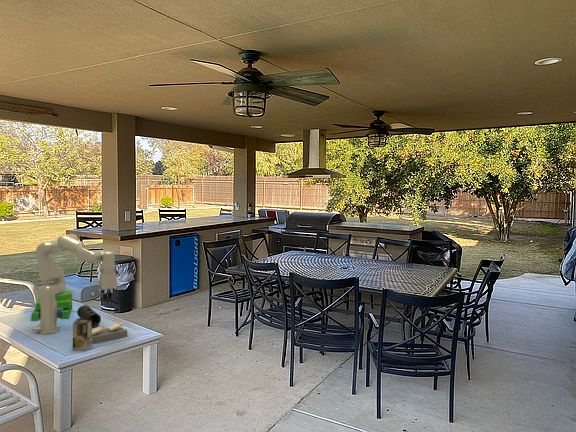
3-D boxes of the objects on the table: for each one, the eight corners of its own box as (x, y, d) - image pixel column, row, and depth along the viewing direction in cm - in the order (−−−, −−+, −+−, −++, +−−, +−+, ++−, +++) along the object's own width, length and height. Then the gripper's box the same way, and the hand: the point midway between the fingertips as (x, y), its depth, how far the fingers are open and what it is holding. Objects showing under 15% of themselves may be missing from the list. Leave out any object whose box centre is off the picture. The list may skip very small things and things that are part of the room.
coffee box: (92, 346, 262) (92, 320, 261) (87, 350, 255) (88, 323, 255) (76, 346, 262) (77, 319, 261) (71, 349, 255) (72, 322, 254)
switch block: (93, 343, 266) (93, 335, 266) (85, 339, 274) (85, 331, 274) (127, 336, 283) (127, 328, 282) (118, 332, 291) (118, 324, 290)
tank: (29, 324, 302) (29, 301, 301) (37, 311, 334) (37, 290, 333) (68, 322, 311) (68, 299, 310) (72, 309, 343) (72, 288, 343)
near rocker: (92, 334, 269) (91, 333, 269) (88, 333, 272) (88, 331, 272) (106, 328, 275) (105, 326, 275) (102, 326, 279) (102, 324, 279)
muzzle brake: (86, 329, 295) (86, 314, 294) (76, 319, 316) (76, 305, 316) (101, 327, 301) (101, 312, 300) (90, 317, 322) (90, 303, 322)
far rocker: (111, 331, 278) (110, 329, 278) (107, 329, 281) (107, 327, 281) (124, 324, 284) (123, 323, 284) (120, 323, 288) (120, 321, 287)
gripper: (98, 272, 268) (97, 302, 269) (122, 270, 280) (122, 298, 281) (92, 271, 273) (92, 300, 274) (117, 268, 285) (116, 296, 286)
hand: (107, 299), depth 278 cm, fingers closed
